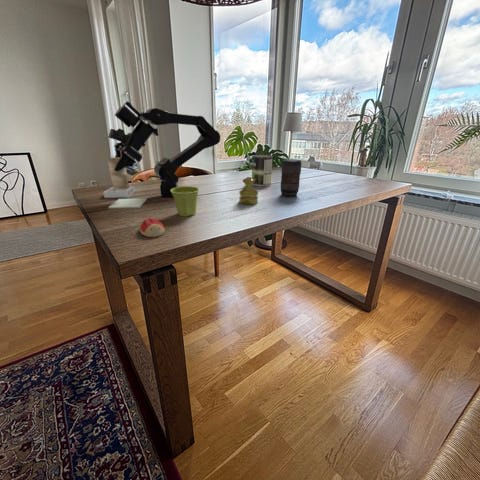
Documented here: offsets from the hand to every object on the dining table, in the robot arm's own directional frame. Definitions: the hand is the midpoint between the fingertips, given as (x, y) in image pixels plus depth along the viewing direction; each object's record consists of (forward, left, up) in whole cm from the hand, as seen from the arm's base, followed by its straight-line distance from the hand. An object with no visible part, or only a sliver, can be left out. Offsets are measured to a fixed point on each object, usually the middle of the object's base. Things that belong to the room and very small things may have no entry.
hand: (113, 169), depth 97 cm
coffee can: (-61, -31, -13) cm, 70 cm away
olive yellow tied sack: (-51, +2, -13) cm, 52 cm away
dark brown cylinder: (-70, -8, -13) cm, 71 cm away
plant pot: (-28, +15, -13) cm, 34 cm away
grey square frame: (+4, -12, -13) cm, 18 cm away
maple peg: (-1, -1, -7) cm, 7 cm away
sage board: (-4, +2, -13) cm, 14 cm away
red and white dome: (-20, +30, -13) cm, 38 cm away
